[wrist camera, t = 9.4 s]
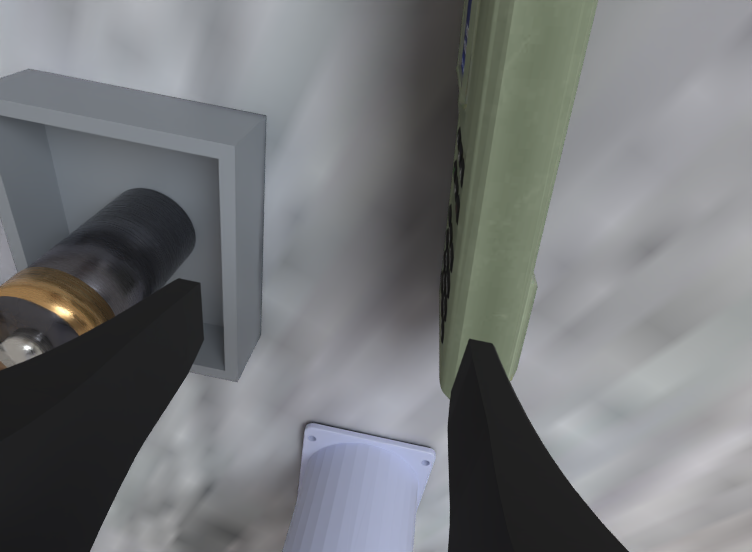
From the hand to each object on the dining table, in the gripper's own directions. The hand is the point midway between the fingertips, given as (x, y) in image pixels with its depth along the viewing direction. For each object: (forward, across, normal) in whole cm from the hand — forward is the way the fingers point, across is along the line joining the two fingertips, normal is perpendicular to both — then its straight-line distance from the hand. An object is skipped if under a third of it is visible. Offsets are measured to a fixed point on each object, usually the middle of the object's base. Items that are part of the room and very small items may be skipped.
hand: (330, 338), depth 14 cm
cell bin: (+10, +10, +4) cm, 15 cm away
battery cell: (+9, +10, +4) cm, 14 cm away
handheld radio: (+10, -4, -7) cm, 13 cm away
